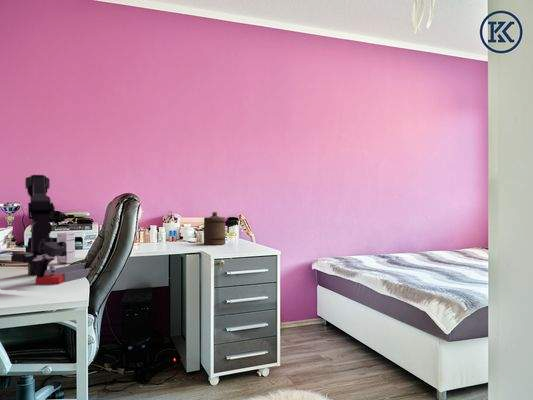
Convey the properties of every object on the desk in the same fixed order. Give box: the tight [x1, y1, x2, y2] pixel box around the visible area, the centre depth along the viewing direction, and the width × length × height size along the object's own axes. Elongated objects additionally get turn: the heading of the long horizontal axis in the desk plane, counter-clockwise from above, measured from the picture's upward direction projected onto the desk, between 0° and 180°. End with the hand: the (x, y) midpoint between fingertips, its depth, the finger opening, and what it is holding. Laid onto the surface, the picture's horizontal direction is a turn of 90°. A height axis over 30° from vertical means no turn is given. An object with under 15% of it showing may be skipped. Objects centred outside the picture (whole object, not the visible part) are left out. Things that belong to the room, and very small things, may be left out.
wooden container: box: [203, 211, 226, 246], centre depth 281 cm, size 15×15×22 cm
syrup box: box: [56, 231, 76, 264], centre depth 195 cm, size 6×6×14 cm
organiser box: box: [44, 261, 91, 283], centre depth 160 cm, size 13×25×3 cm, turn 162°
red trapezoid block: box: [35, 265, 65, 285], centre depth 146 cm, size 8×7×6 cm
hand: (40, 279), depth 144 cm, fingers closed
